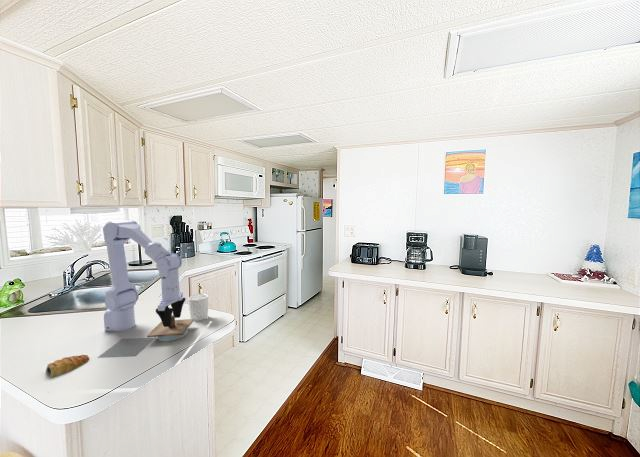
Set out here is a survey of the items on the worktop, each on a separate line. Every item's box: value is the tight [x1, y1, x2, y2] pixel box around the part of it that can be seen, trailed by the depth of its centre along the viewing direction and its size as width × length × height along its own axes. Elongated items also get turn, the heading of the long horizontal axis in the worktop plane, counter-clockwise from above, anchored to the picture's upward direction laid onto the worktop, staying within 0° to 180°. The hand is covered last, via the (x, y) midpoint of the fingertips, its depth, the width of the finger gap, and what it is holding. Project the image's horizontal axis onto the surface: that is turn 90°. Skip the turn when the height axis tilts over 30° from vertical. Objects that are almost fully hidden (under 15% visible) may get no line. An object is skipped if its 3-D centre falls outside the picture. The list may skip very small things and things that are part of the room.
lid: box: [146, 314, 194, 338], centre depth 97 cm, size 12×12×5 cm
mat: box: [96, 337, 157, 359], centre depth 89 cm, size 12×12×1 cm
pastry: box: [45, 354, 90, 378], centre depth 78 cm, size 9×7×4 cm
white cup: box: [187, 293, 209, 322], centre depth 113 cm, size 8×8×10 cm
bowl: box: [157, 328, 189, 342], centre depth 98 cm, size 10×10×3 cm
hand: (172, 321), depth 97 cm, fingers open, 7 cm apart
